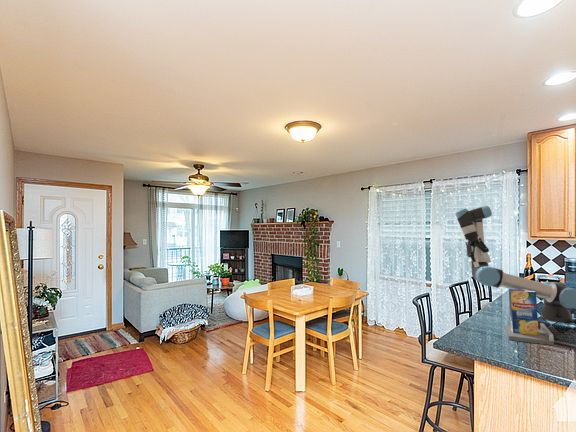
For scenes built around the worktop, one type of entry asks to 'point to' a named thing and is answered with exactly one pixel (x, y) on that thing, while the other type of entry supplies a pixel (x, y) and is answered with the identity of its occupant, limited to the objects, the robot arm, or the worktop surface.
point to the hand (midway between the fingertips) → (483, 264)
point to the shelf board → (527, 336)
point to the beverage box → (523, 311)
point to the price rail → (546, 332)
